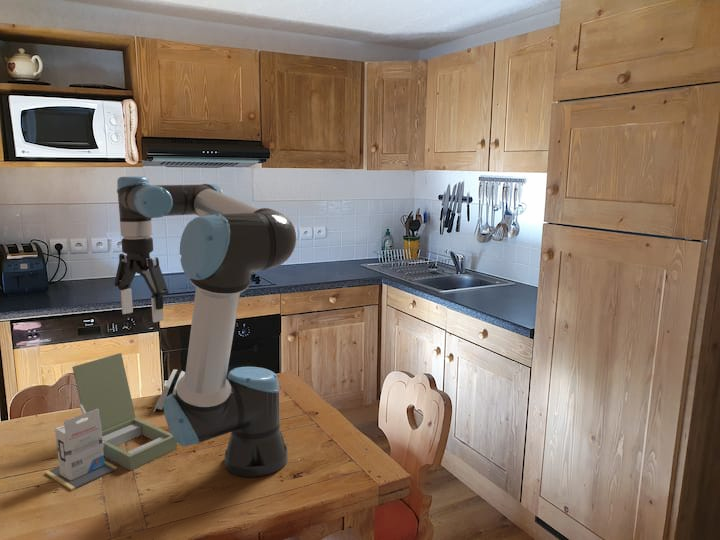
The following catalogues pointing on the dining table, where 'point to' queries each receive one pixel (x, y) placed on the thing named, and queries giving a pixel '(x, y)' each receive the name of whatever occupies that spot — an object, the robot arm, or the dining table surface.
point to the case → (118, 412)
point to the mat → (82, 479)
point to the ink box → (80, 445)
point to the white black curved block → (169, 388)
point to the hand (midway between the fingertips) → (142, 317)
